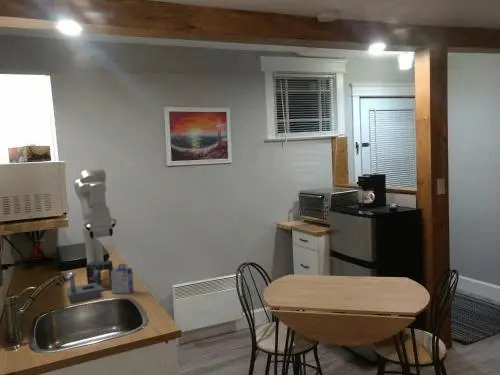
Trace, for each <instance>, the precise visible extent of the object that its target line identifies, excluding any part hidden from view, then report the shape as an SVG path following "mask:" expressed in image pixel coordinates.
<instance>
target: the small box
mask: <svg viewBox="0 0 500 375" xmlns="http://www.w3.org/2000/svg"><path fill="white" fill-rule="evenodd" d="M85 266H86V267H85V268H86V269H85V270H86V272H87V276H86V278H87V284H91V283H97V285H98V286H101V285H102V282H101V280H100V278H101V271H102V270H109V276H110V284H111V283H112V279H111V271H112V270H114V268H113V266H114V265H113V260H107V261H105V260H103V261H101V262H90V263H88V264H87V263H86V265H85Z"/></svg>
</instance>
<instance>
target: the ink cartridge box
mask: <svg viewBox="0 0 500 375" xmlns="http://www.w3.org/2000/svg"><path fill="white" fill-rule="evenodd" d="M111 279H112V289H111V290H112V291H111V292H112V294H130V293H132V292H134V281H133V280H134V279H133V269H132V267H131V268H130V267H129V268H127V267H126V264H124V263H123V264H122V263H121V264H120V263H119V265H118V268H113V270H112V271H111Z"/></svg>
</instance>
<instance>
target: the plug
mask: <svg viewBox="0 0 500 375" xmlns="http://www.w3.org/2000/svg"><path fill="white" fill-rule="evenodd" d="M100 280H101V282H102V288H108V287H110V276H109V270H102V271H101V278H100Z"/></svg>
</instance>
